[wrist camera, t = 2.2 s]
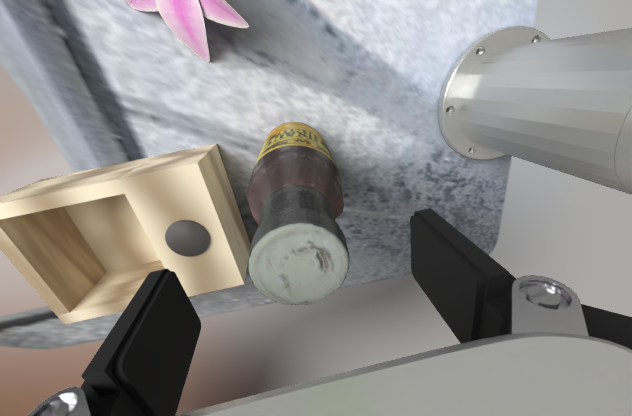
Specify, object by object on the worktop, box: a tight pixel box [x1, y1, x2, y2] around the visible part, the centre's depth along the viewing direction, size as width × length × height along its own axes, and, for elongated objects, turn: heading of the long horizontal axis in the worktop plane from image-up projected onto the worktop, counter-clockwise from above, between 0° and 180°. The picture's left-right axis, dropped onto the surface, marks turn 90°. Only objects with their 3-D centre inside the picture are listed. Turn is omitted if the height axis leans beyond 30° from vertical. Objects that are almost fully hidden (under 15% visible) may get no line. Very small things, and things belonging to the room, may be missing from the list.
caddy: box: [0, 144, 251, 324], centre depth 26 cm, size 17×12×7 cm
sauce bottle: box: [246, 122, 349, 305], centre depth 19 cm, size 7×6×20 cm
